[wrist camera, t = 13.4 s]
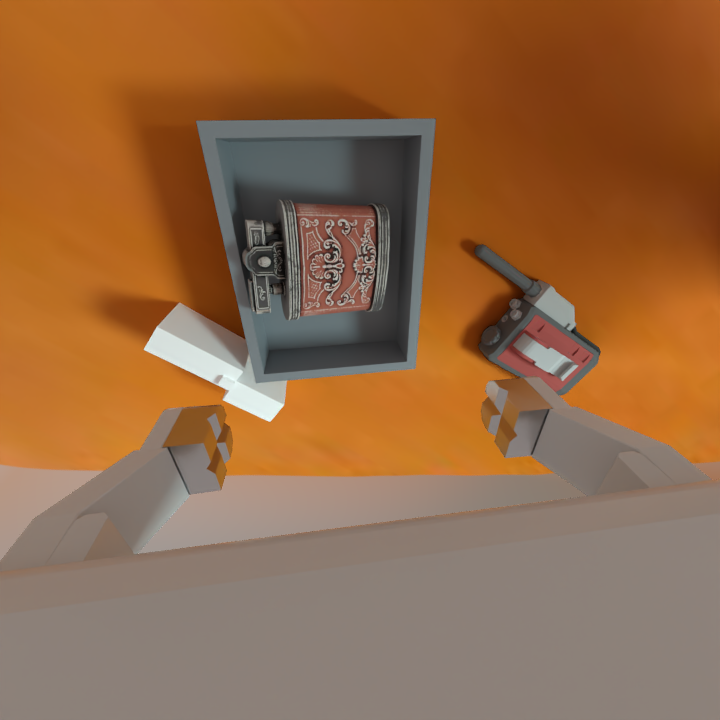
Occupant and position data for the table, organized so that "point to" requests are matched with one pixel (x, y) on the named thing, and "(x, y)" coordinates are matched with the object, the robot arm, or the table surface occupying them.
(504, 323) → the walkie-talkie
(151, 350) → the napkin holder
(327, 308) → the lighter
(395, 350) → the grey tray
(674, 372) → the table surface
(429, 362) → the table surface
